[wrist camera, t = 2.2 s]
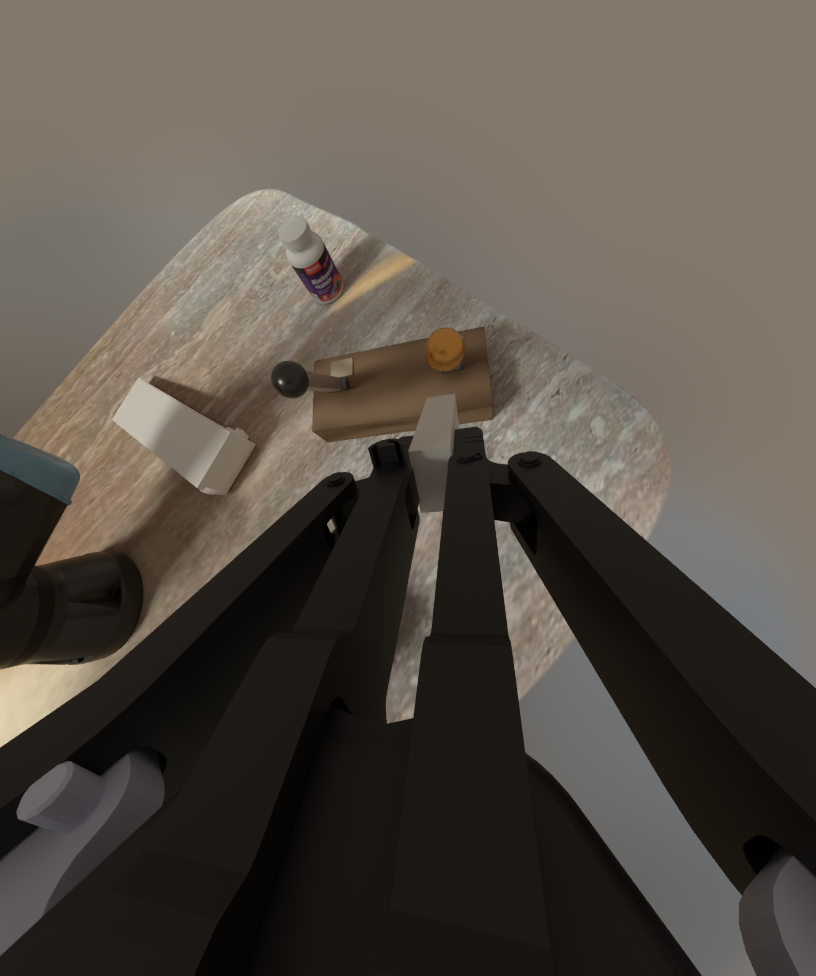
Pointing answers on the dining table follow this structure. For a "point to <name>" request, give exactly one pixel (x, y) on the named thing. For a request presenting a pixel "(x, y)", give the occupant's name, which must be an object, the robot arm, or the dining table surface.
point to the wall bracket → (184, 438)
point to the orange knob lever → (445, 350)
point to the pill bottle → (311, 260)
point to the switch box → (399, 389)
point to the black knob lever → (304, 380)
